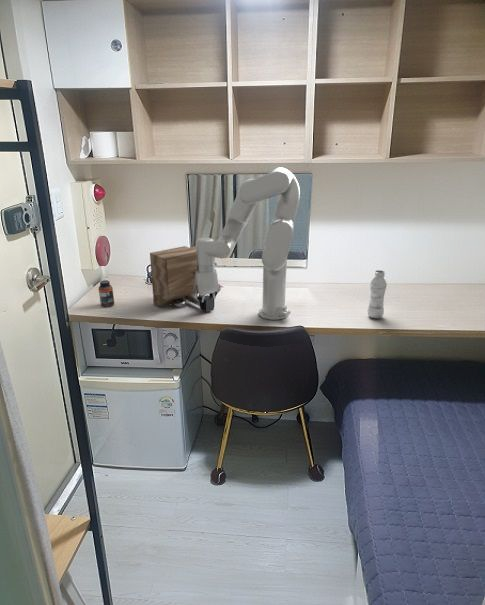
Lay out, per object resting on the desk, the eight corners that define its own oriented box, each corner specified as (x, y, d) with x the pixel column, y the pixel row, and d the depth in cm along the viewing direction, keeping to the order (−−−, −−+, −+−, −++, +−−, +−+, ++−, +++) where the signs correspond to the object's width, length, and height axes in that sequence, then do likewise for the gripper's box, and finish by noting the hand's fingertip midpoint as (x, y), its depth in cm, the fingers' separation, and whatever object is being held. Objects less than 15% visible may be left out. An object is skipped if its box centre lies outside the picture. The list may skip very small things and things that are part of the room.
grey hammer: (213, 309, 197) (213, 297, 195) (206, 311, 195) (205, 299, 193) (190, 298, 210) (189, 286, 208) (182, 300, 208) (182, 288, 206)
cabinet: (203, 303, 207) (201, 251, 198) (169, 313, 196) (166, 259, 187) (187, 295, 216) (184, 246, 208) (153, 304, 205) (149, 252, 197)
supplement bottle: (107, 302, 209) (104, 278, 205) (117, 304, 206) (114, 280, 202) (97, 306, 204) (94, 282, 200) (108, 308, 201) (105, 284, 197)
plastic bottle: (373, 321, 188) (379, 275, 180) (363, 315, 193) (368, 270, 186) (386, 319, 190) (392, 273, 183) (375, 313, 196) (380, 268, 188)
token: (187, 306, 203) (187, 301, 203) (178, 309, 201) (177, 304, 200) (181, 303, 207) (181, 298, 206) (172, 306, 204) (171, 300, 203)
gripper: (216, 262, 199) (217, 301, 205) (184, 269, 188) (186, 310, 195) (227, 265, 193) (227, 306, 200) (194, 273, 183) (196, 315, 190)
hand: (207, 308), depth 197 cm, fingers closed on grey hammer, 4 cm apart
